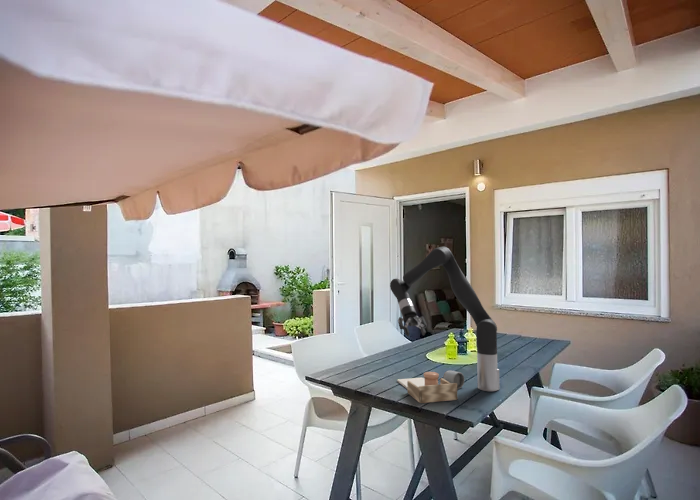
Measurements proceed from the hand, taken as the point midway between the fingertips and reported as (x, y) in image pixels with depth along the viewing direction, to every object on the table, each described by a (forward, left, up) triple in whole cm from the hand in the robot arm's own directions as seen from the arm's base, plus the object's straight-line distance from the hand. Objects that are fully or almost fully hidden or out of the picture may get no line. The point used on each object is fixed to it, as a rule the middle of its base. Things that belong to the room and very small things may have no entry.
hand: (416, 334), depth 197 cm
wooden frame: (0, +17, -25) cm, 30 cm away
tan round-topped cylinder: (0, +16, -25) cm, 30 cm away
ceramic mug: (-16, +7, -25) cm, 31 cm away
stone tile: (0, -1, -25) cm, 25 cm away
